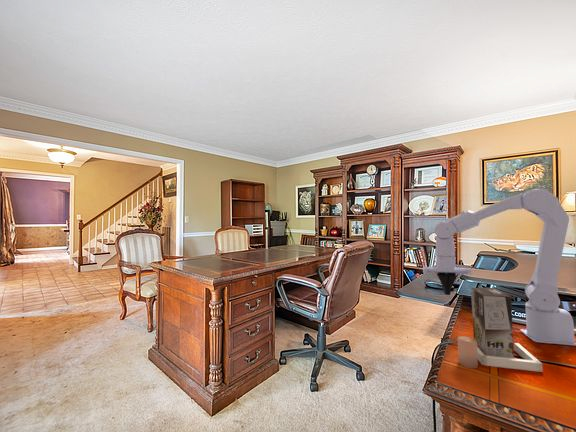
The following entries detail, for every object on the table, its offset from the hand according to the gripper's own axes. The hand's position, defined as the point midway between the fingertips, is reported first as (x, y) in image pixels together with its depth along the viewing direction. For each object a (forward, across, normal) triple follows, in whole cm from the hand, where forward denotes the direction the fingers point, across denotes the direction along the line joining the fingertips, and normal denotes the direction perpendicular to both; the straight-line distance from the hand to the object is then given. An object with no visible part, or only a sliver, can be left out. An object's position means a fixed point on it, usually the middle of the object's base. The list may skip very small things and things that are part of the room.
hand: (447, 294), depth 90 cm
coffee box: (+10, -6, +19) cm, 22 cm away
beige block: (+10, +3, +28) cm, 29 cm away
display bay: (+10, -6, +23) cm, 25 cm away
